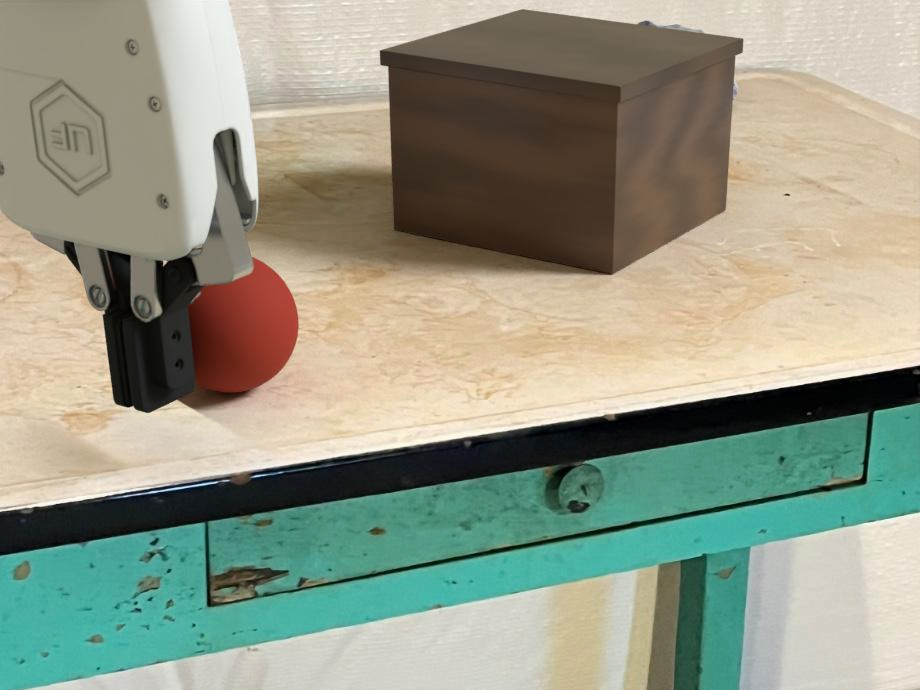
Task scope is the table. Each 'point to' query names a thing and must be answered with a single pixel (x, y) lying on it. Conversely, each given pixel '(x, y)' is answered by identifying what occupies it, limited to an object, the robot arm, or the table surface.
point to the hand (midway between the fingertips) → (155, 397)
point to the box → (560, 135)
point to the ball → (243, 331)
